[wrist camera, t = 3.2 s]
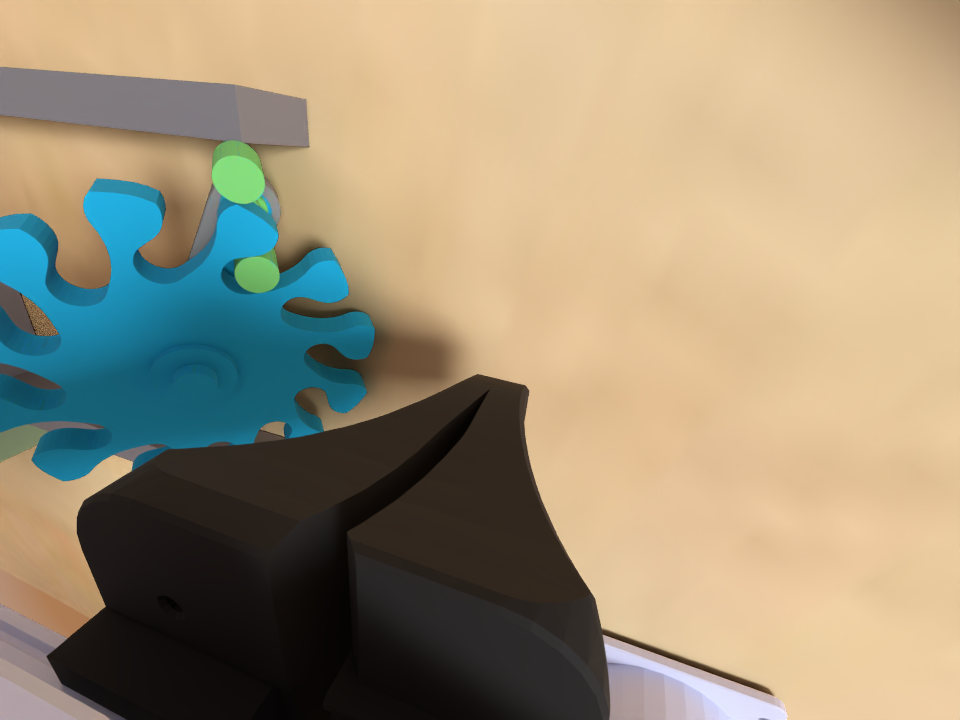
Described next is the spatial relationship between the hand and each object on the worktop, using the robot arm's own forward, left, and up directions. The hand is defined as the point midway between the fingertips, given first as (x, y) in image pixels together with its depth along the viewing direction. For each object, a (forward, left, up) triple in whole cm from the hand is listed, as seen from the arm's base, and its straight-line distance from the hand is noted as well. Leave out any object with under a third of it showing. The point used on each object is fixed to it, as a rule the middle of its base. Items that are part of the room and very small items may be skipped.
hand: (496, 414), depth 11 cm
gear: (0, +8, -3) cm, 9 cm away
